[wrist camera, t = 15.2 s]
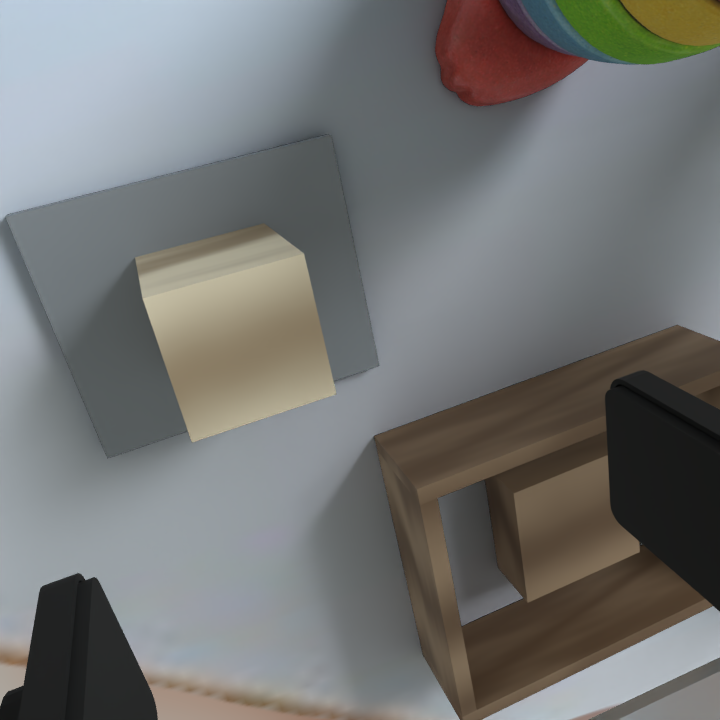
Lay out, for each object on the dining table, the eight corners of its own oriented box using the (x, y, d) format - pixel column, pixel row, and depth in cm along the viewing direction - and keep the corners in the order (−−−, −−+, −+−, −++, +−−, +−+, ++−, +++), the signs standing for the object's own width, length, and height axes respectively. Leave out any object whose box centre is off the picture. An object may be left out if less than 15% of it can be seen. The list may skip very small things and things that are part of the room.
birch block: (134, 257, 25) (142, 298, 20) (264, 223, 26) (303, 253, 21) (175, 376, 27) (192, 442, 22) (293, 339, 28) (336, 394, 23)
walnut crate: (373, 436, 32) (416, 489, 27) (677, 324, 36) (757, 355, 32) (423, 655, 38) (464, 727, 34) (678, 538, 42) (745, 590, 38)
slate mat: (7, 214, 24) (5, 216, 23) (326, 134, 26) (331, 135, 26) (107, 451, 28) (107, 458, 27) (374, 361, 31) (379, 365, 30)
